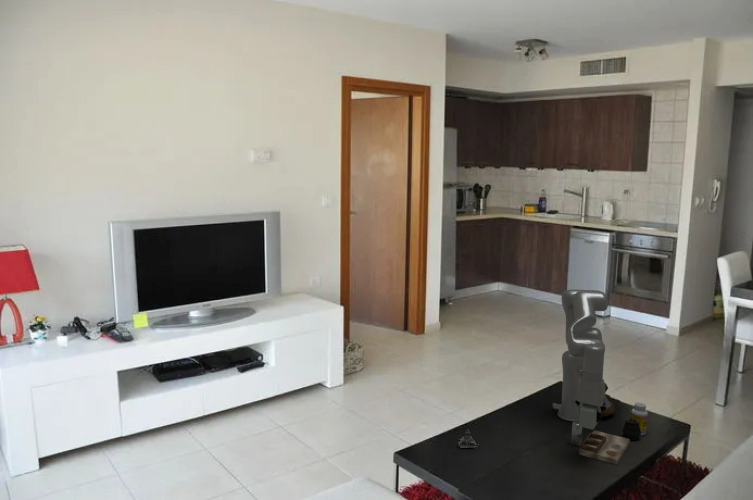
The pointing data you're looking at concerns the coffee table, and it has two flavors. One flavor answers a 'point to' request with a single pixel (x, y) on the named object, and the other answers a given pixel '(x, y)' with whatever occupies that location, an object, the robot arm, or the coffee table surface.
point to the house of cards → (468, 444)
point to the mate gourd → (631, 428)
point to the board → (604, 447)
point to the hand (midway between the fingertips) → (589, 418)
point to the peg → (576, 434)
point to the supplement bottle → (640, 416)
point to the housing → (588, 416)
